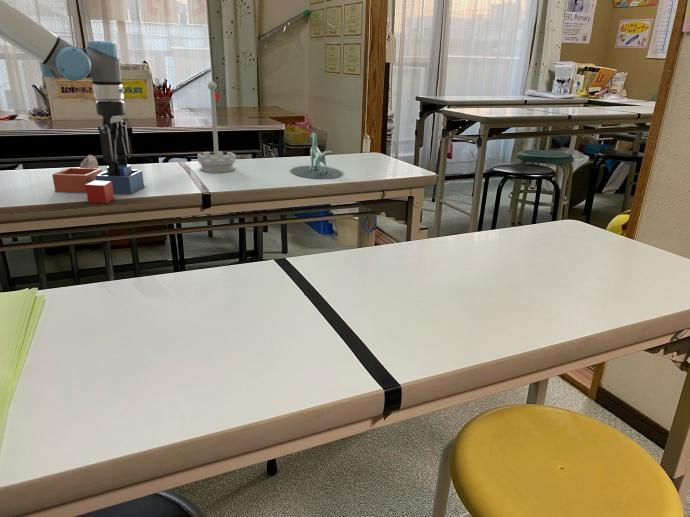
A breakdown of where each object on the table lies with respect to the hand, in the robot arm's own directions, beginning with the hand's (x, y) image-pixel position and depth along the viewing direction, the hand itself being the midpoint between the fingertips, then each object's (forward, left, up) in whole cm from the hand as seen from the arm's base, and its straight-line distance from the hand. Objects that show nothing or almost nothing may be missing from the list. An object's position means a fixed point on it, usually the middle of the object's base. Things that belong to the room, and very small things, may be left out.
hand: (120, 182), depth 152 cm
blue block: (0, 0, 0) cm, 0 cm away
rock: (-15, +14, -3) cm, 21 cm away
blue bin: (0, 0, -2) cm, 2 cm away
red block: (0, -13, -2) cm, 13 cm away
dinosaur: (+56, +34, -3) cm, 66 cm away
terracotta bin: (-12, 0, -2) cm, 13 cm away
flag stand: (+20, +34, -3) cm, 40 cm away
